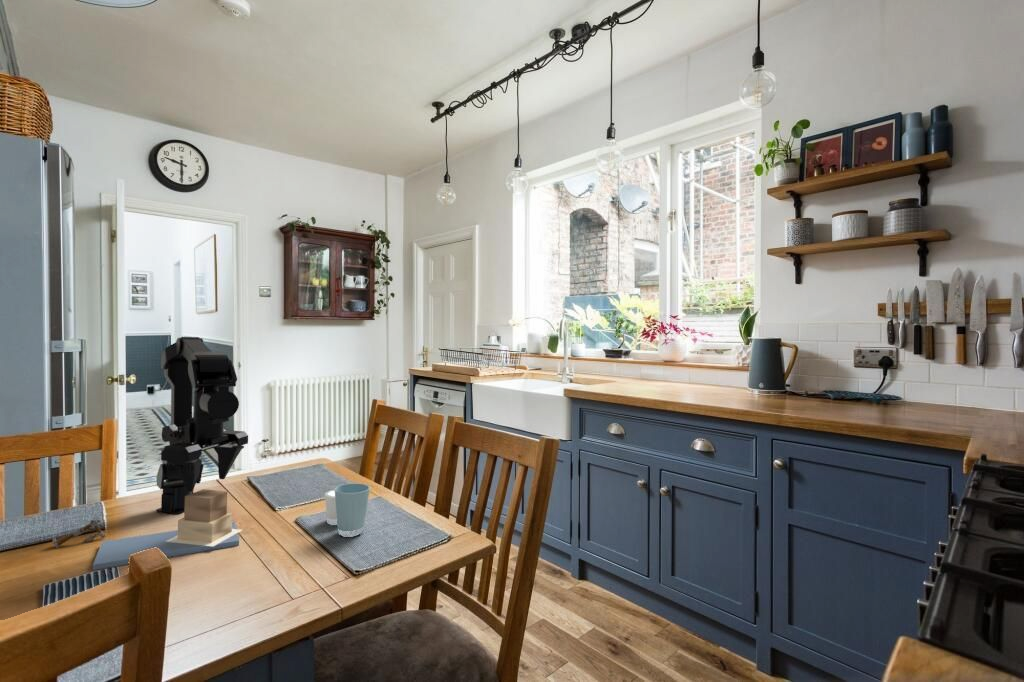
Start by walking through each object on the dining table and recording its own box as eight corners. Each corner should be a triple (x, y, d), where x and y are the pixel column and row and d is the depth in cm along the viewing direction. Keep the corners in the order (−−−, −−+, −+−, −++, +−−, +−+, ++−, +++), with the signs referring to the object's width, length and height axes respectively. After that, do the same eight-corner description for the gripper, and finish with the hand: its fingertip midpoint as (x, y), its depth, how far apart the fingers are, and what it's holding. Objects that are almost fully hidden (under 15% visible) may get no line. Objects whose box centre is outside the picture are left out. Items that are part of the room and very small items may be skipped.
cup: (350, 542, 110) (352, 495, 110) (325, 535, 113) (327, 489, 113) (375, 531, 117) (376, 486, 117) (350, 524, 120) (352, 481, 120)
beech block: (199, 528, 112) (199, 510, 112) (231, 531, 111) (232, 513, 111) (177, 539, 106) (178, 520, 106) (211, 542, 105) (212, 523, 105)
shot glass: (359, 519, 124) (360, 491, 124) (339, 528, 117) (340, 499, 117) (338, 514, 126) (339, 486, 126) (317, 523, 120) (318, 494, 120)
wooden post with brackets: (109, 535, 107) (99, 517, 106) (63, 559, 103) (52, 541, 101) (109, 532, 109) (99, 515, 107) (64, 555, 104) (52, 538, 103)
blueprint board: (91, 572, 93) (92, 566, 93) (102, 544, 104) (102, 539, 104) (245, 546, 106) (245, 540, 106) (239, 523, 118) (239, 519, 118)
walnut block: (202, 511, 111) (202, 489, 111) (226, 514, 110) (227, 491, 110) (184, 519, 106) (184, 496, 106) (209, 522, 105) (210, 498, 105)
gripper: (207, 404, 118) (205, 470, 119) (137, 417, 100) (135, 495, 100) (250, 407, 117) (248, 474, 117) (187, 420, 98) (185, 499, 98)
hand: (206, 484), depth 108 cm, fingers open, 9 cm apart
